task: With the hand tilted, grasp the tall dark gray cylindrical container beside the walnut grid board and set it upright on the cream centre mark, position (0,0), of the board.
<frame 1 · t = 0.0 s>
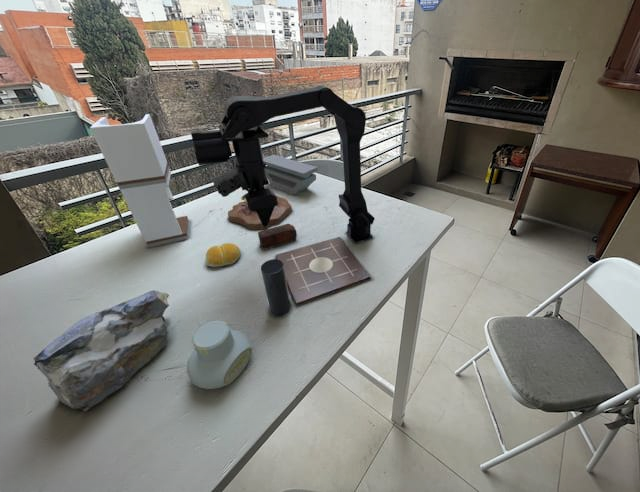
hand: (261, 217, 72), 15 cm above the table, tool pointing down, fingers open, 9 cm apart
brick: (279, 242, 88), on the table
fossil rock: (137, 360, 55), on the table
dark gray cylindrical container: (280, 308, 66), on the table
grid board: (321, 267, 78), on the table
air freshener: (224, 366, 54), on the table
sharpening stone: (290, 188, 120), on the table
bread roll: (223, 259, 81), on the table
plant: (262, 213, 102), on the table
white box tower: (170, 233, 91), on the table
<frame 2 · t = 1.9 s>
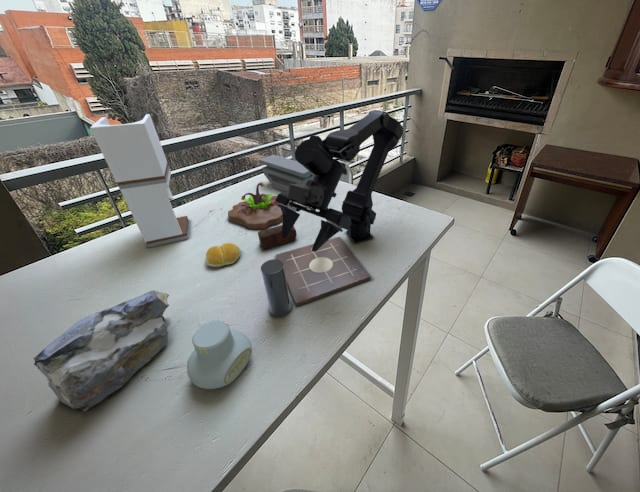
hand: (297, 244, 65), 13 cm above the table, tool tilted 45°, fingers open, 9 cm apart
nothing on the table moved.
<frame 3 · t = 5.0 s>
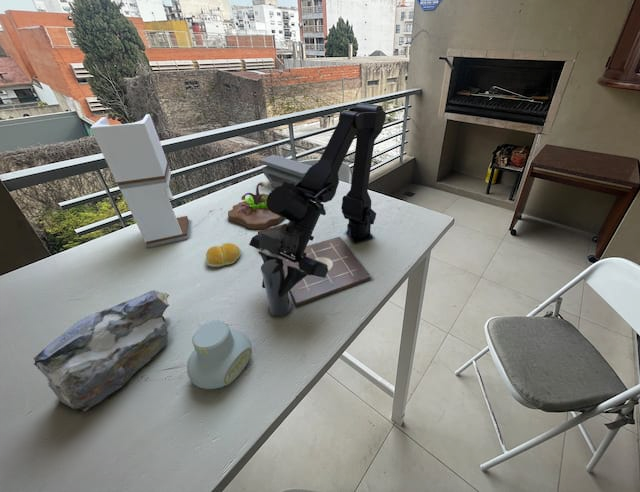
hand: (271, 292, 61), 7 cm above the table, tool tilted 45°, fingers closed on dark gray cylindrical container, 4 cm apart
dark gray cylindrical container: (280, 308, 66), on the table, touching gripper
everything else where it was.
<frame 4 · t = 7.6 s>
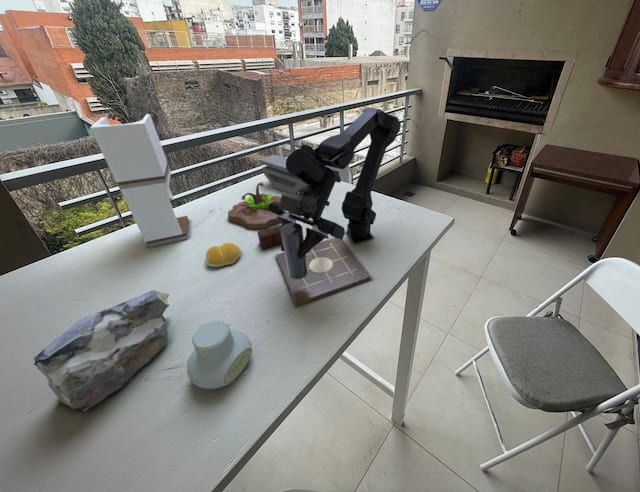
hand: (290, 254, 64), 12 cm above the table, tool tilted 45°, fingers closed on dark gray cylindrical container, 4 cm apart
dark gray cylindrical container: (298, 272, 68), point 5 cm above the table, touching gripper
everything else where it was.
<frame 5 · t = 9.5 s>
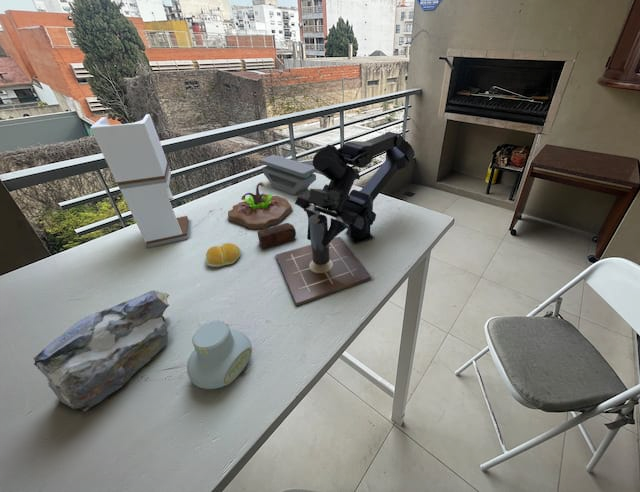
hand: (316, 242, 72), 9 cm above the table, tool tilted 45°, fingers closed on dark gray cylindrical container, 4 cm apart
dark gray cylindrical container: (321, 259, 77), point 3 cm above the table, touching gripper
everything else where it was.
when the fingers open (8 cm above the table, at t = 10.5 s): dark gray cylindrical container stays where it is, resting on grid board.
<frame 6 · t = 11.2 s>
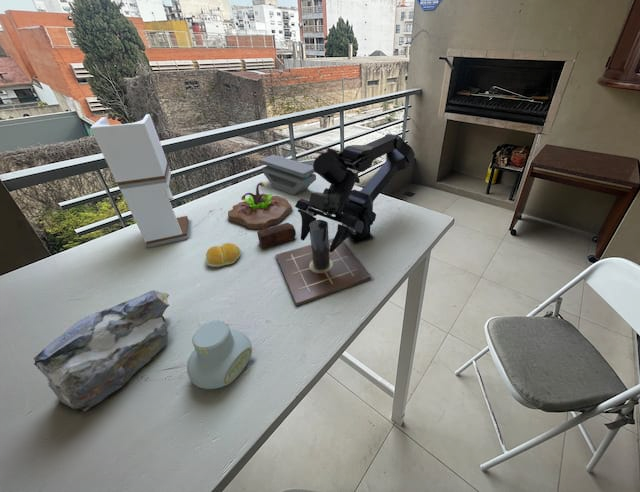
hand: (315, 245, 72), 9 cm above the table, tool tilted 45°, fingers open, 9 cm apart
dark gray cylindrical container: (321, 264, 78), point 1 cm above the table, touching grid board
everything else where it was.
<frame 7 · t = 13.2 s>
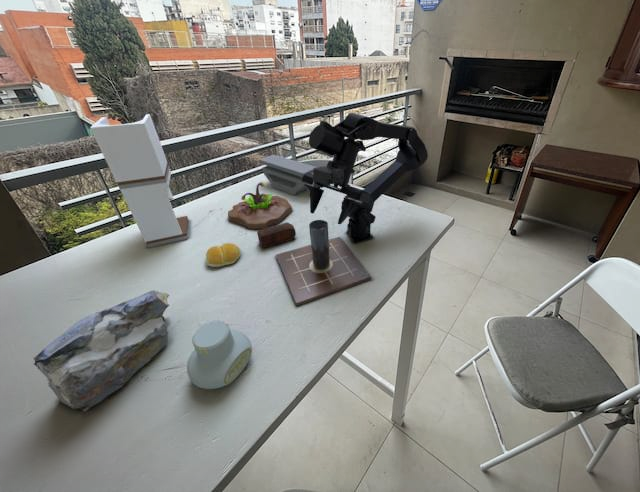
hand: (325, 218, 75), 13 cm above the table, tool tilted 30°, fingers open, 9 cm apart
nothing on the table moved.
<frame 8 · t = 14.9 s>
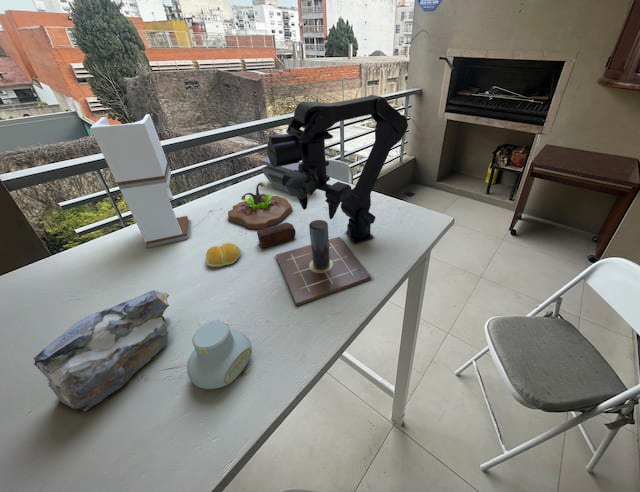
hand: (317, 213, 77), 13 cm above the table, tool pointing down, fingers open, 9 cm apart
nothing on the table moved.
at the end: dark gray cylindrical container 0.2 cm off-centre on the grid board, point 1.1 cm above the grid board's base; dark gray cylindrical container tilted 0°; the gripper is holding nothing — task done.
